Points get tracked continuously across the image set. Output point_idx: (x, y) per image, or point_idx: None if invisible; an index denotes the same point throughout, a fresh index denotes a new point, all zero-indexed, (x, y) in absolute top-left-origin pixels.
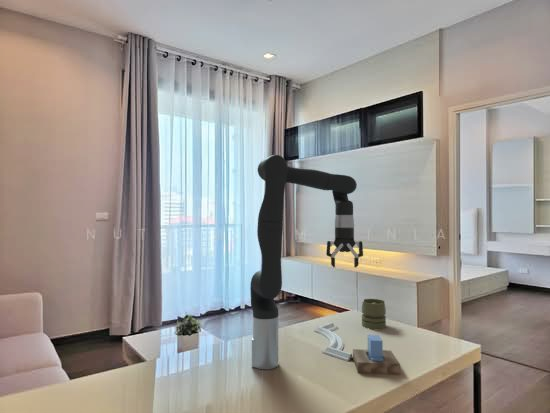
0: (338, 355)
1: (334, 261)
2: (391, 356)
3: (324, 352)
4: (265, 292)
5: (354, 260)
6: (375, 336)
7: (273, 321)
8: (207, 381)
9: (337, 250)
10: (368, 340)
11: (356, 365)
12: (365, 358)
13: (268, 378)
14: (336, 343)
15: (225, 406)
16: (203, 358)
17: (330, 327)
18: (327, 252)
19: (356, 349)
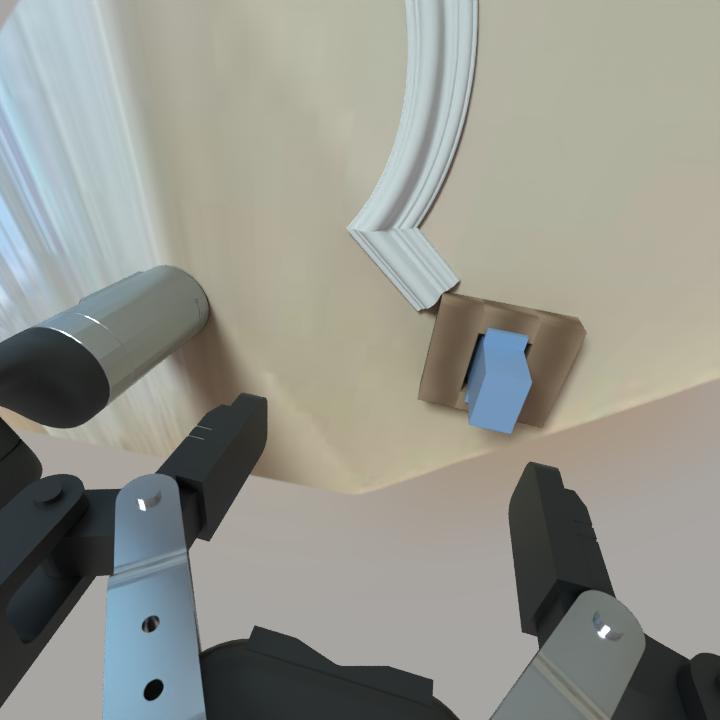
0: (394, 278)
1: (227, 499)
2: (551, 379)
3: (353, 235)
4: None
5: (537, 554)
6: (509, 393)
7: (110, 402)
8: None
9: (180, 627)
10: (480, 380)
11: (424, 368)
12: (453, 379)
13: (198, 374)
14: (417, 165)
15: (150, 451)
16: (2, 239)
17: None
18: (33, 595)
19: (454, 307)
